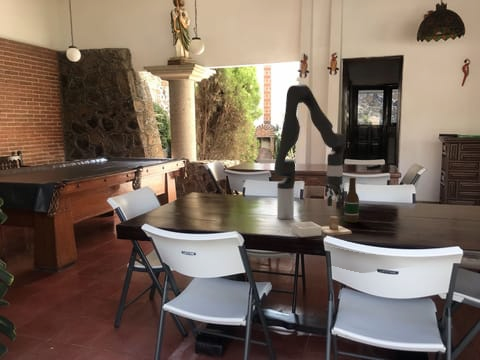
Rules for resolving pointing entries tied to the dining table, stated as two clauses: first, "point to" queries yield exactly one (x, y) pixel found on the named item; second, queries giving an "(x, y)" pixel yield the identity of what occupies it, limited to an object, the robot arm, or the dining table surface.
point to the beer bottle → (351, 203)
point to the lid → (334, 227)
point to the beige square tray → (306, 229)
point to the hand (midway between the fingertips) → (334, 207)
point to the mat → (338, 234)
